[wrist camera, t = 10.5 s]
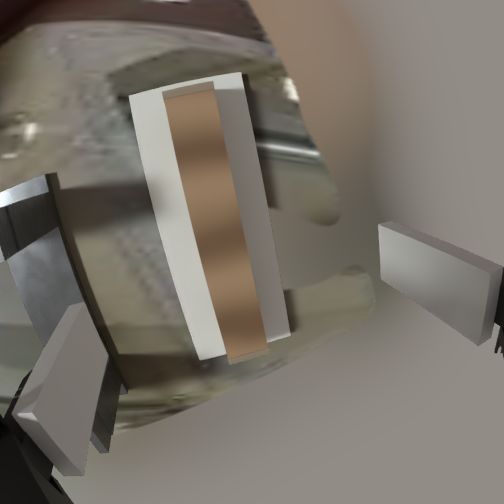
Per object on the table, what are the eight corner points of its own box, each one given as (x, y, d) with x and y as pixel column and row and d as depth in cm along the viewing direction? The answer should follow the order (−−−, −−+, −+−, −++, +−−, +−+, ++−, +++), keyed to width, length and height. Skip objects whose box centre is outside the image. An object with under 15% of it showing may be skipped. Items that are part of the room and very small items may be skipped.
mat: (129, 97, 22) (128, 95, 22) (239, 73, 24) (240, 72, 23) (199, 357, 30) (199, 360, 29) (288, 332, 31) (290, 335, 31)
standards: (-7, 196, 22) (-75, 218, 12) (48, 173, 22) (-15, 185, 13) (76, 397, 29) (56, 466, 19) (128, 388, 29) (118, 463, 20)
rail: (164, 99, 22) (161, 91, 20) (209, 89, 23) (213, 80, 20) (224, 345, 29) (229, 364, 27) (261, 335, 30) (270, 353, 27)
